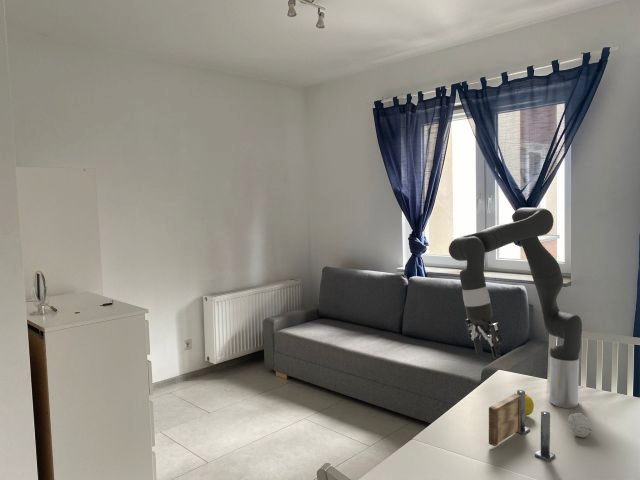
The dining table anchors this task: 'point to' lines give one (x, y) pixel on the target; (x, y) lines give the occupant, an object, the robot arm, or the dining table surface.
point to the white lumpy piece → (580, 424)
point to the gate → (504, 419)
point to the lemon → (528, 405)
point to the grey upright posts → (545, 430)
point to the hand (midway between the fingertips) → (487, 354)
